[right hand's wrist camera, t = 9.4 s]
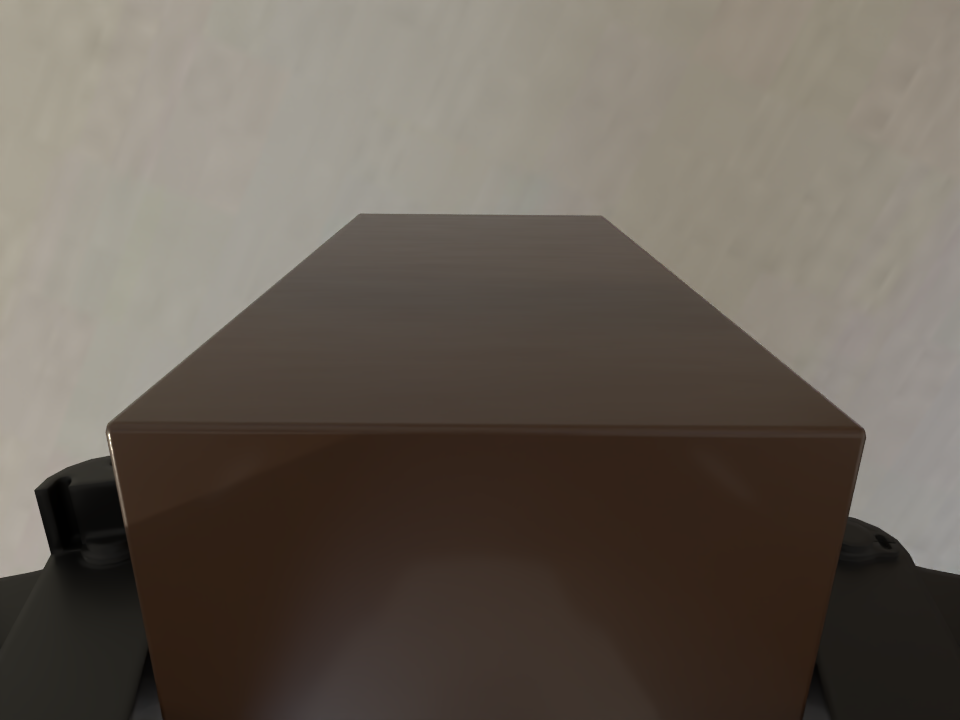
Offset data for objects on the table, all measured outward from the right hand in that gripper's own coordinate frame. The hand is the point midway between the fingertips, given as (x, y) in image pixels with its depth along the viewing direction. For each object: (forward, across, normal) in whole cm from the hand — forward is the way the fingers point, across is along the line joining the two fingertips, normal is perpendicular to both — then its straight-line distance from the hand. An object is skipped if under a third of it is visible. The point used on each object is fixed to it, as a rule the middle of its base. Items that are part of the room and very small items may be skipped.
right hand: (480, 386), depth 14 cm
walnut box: (+1, 0, -13) cm, 13 cm away
